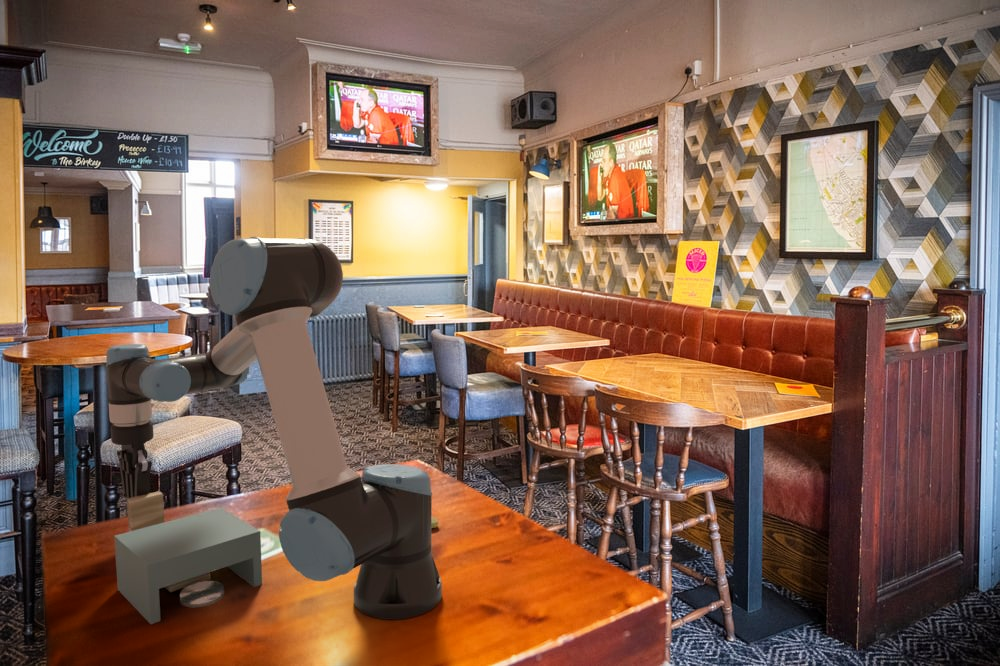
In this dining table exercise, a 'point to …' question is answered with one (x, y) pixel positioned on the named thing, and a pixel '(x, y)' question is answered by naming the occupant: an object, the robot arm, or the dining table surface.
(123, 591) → the bridge
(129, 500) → the paddle
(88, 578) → the dining table surface
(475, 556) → the dining table surface
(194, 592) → the token
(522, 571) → the dining table surface
